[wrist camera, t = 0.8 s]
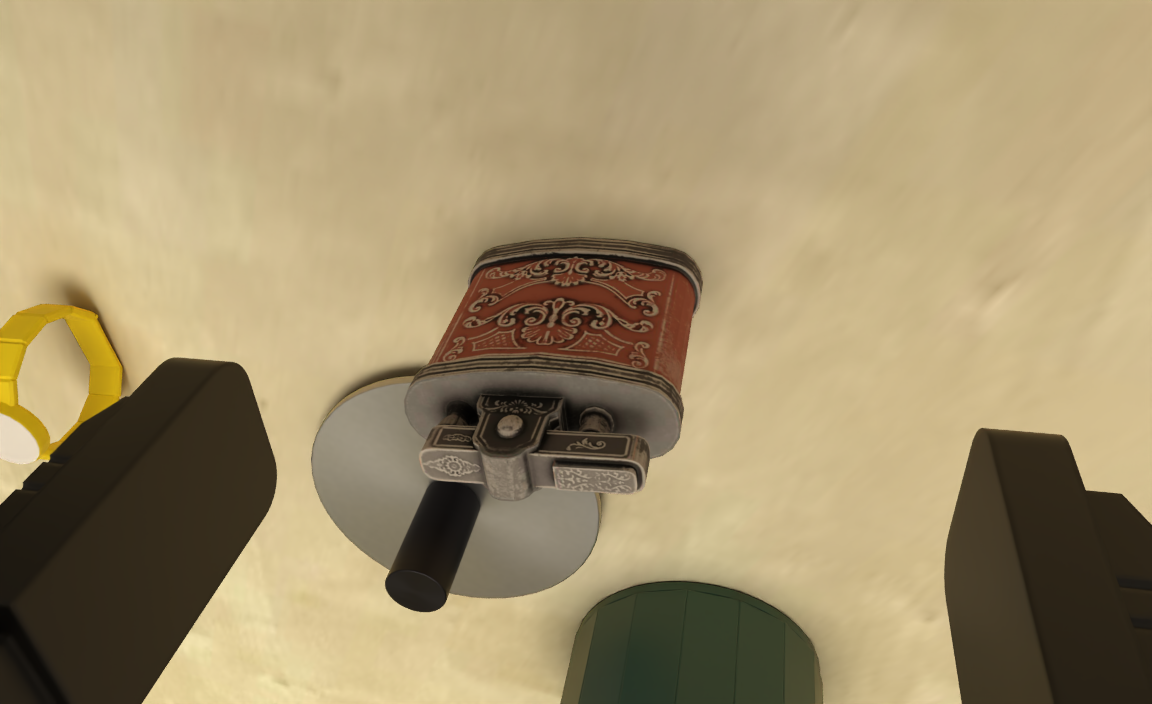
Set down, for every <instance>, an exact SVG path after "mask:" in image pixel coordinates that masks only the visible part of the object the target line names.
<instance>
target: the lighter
mask: <svg viewBox="0 0 1152 704" xmlns="http://www.w3.org/2000/svg"><path fill="white" fill-rule="evenodd" d="M702 284H703V281H702V276H701V271H700V270H699V268H698V266H697V265H696V263H695V261H694V260H693V259H691V258H690V257H689V256H688V255H687V254H686V253H683V252H681V251H678V250H675V249H671V248H666V247H660V246H654V245H648V244H643V243H637V242H631V241H621V240H607V239H592V238H569V239H552V240H535V241H529V242H524V243H518V244H512V245H506V246H501V247H495V248H492V249H490V250H487V251H485V252H484V253H483V254H482V255H481V256H480V257H479V258H478V260H477V262H476V264H475V266H474V268H473V269H472V271H471V274H470V277H469V280H468V290H467V292H466V294H465V296H464V298H463V300H462V302H461V304H460V305H459V307H458V309H457V311H456V313H455V315H454V317H453V319H452V321H451V322H450V324H449V326H448V328H447V330H446V332H445V334H444V336H443V338H442V339H441V341H440V343H439V345H438V347H437V349H436V351H435V353H434V355H433V356H432V358H431V360H430V362H429V364H428V365H427V366H424V367H423V368H422V369H421V370H420V371H419V372H418V373H417V374H416V375H415V377H414V379H413V381H412V382H411V384H410V386H409V388H408V390H407V393H406V396H405V399H404V409H405V414H406V416H407V418H408V421H409V423H410V425H411V426H412V427H413V428H414V430H415V431H416V432H417V433H418V434H419V435H420V436H421V437H423V438H424V439H426V442H425V444H424V446H423V448H422V450H421V452H420V454H419V461H420V465H421V468H422V470H423V472H424V473H425V474H426V475H427V476H428V477H429V478H431V479H434V480H439V481H449V482H465V483H480V484H482V485H483V486H484V487H486V488H487V489H488V491H489V494H490V495H491V496H492V497H493V498H495V499H497V500H500V501H519V500H523V499H525V498H527V497H529V496H530V495H531V494H532V493H533V492H535V491H538V490H540V489H542V488H556V490H566V491H582V492H597V493H613V494H633V493H636V492H639V491H642V489H643V488H644V487H645V483H646V477H647V472H648V466H649V461H650V459H652V458H656V457H660V456H663V455H664V454H666V453H667V452H669V451H670V450H671V449H673V447H674V446H675V444H676V443H677V441H678V440H679V438H680V432H681V425H682V419H683V412H684V407H683V402H682V398H681V395H680V391H681V385H682V379H683V372H684V366H685V359H686V353H687V347H688V340H689V334H690V328H691V321H692V318H693V317H694V315H695V314H696V312H697V310H698V308H699V304H700V298H701V291H702Z"/></svg>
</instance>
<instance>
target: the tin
mask: <svg viewBox="0 0 1152 704" xmlns="http://www.w3.org/2000/svg"><path fill="white" fill-rule="evenodd" d="M560 704H823V684H822V679H821V676H820V667H819V661H818V657H817V655H816V652H815V649H814V647H813V646H812V644H811V642H810V641H809V639H808V637H807V636H806V635H805V634H804V633H803V632H802V630H801V629H800V628H799V627H798V626H797V625H796V624H795V623H794V622H792V621H791V620H790V619H789V618H788V617H786V616H785V615H784V614H782V613H781V612H779V611H778V610H777V609H775V608H773V607H771V606H769V605H768V604H766V603H764V602H762V601H760V600H758V599H755V598H753V597H751V596H749V595H746V594H743V593H740V592H737V591H734V590H731V589H727V588H722V587H718V586H714V585H708V584H701V583H691V582H661V583H652V584H645V585H641V586H636V587H632V588H629V589H626V590H623V591H620V592H618V593H616V594H614V595H612V596H610V597H608V598H606V599H605V600H603V601H602V602H600V603H599V604H597V605H596V606H595V607H594V608H593V609H592V610H591V611H590V612H589V613H588V614H587V616H586V617H585V618H584V620H583V621H582V623H581V626H580V628H579V630H578V632H577V634H576V637H575V641H574V646H573V650H572V655H571V659H570V663H569V668H568V672H567V677H566V681H565V686H564V690H563V694H562V699H561V703H560Z"/></svg>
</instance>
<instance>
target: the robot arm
mask: <svg viewBox="0 0 1152 704" xmlns="http://www.w3.org/2000/svg"><path fill="white" fill-rule="evenodd" d="M276 481H277V469H276V462H275V458H274V455H273V452H272V449H271V446H270V442H269V439H268V436H267V433H266V430H265V427H264V424H263V421H262V418H261V414H260V411H259V408H258V405H257V402H256V399H255V396H254V393H253V390H252V386H251V383H250V380H249V378H248V375H247V373H246V372H245V370H244V369H243V368H242V367H241V366H240V365H239V364H237V363H234V362H225V361H213V360H201V359H189V358H170V359H168V360H166V361H164V362H163V363H162V364H161V365H159V366H158V368H157V369H156V370H155V371H154V372H153V373H152V374H151V375H150V376H149V377H148V378H147V379H146V380H145V381H144V382H143V383H142V384H141V385H140V386H139V387H138V388H137V389H136V390H135V391H134V392H133V393H132V394H131V395H130V397H127V396H125V397H124V398H122V399H120V400H119V401H117V402H116V403H114V404H112V405H111V406H109V407H107V408H106V409H104V410H102V411H101V412H99V413H98V414H96V415H94V416H93V417H91V418H89V419H88V420H86V421H84V422H83V423H81V424H80V425H79V426H78V427H77V428H76V429H75V430H74V431H73V432H72V433H71V434H70V435H69V437H68V438H67V439H66V440H65V441H64V442H63V443H62V444H61V445H60V446H59V447H58V448H57V449H56V450H55V451H54V452H53V453H52V454H51V455H50V460H49V462H43V463H42V464H41V465H40V466H39V467H38V468H37V469H36V470H35V471H34V472H33V473H32V474H31V475H30V476H29V477H28V478H27V479H26V480H25V481H24V482H23V488H22V489H21V490H17V489H16V490H15V491H14V492H13V493H12V494H11V495H10V496H9V497H8V498H7V499H6V500H5V501H4V502H3V503H2V504H1V505H0V704H142V702H143V701H144V699H145V698H146V696H147V695H148V693H149V692H150V690H151V689H152V687H153V686H154V684H155V683H156V681H157V680H158V678H159V677H160V675H161V673H162V672H163V670H164V669H165V667H166V666H167V664H168V663H169V661H170V660H171V658H172V657H173V655H174V654H175V652H176V651H177V649H178V648H179V646H180V645H181V643H182V642H183V640H184V639H185V637H186V636H187V634H188V633H189V631H190V630H191V628H192V626H193V625H194V623H195V622H196V620H197V619H198V617H199V616H200V614H201V613H202V611H203V610H204V608H205V607H206V605H207V604H208V602H209V601H210V599H211V598H212V596H213V595H214V593H215V592H216V590H217V589H218V587H219V586H220V584H221V582H222V581H223V579H224V578H225V576H226V575H227V573H228V572H229V570H230V569H231V567H232V566H233V564H234V563H235V561H236V560H237V558H238V557H239V555H240V554H241V552H242V551H243V549H244V548H245V546H246V545H247V543H248V542H249V540H250V539H251V537H252V535H253V534H254V532H255V531H256V529H257V528H258V526H259V525H260V523H261V522H262V520H263V519H264V517H265V516H266V514H267V512H268V511H269V508H270V506H271V504H272V501H273V498H274V494H275V489H276ZM944 580H945V595H946V603H947V609H948V616H949V622H950V629H951V635H952V642H953V648H954V655H955V661H956V668H957V674H958V681H959V687H960V694H961V700H962V704H1152V525H1151V524H1150V523H1149V522H1148V521H1147V520H1146V519H1145V517H1144V516H1143V515H1142V514H1141V513H1140V512H1139V511H1138V510H1137V509H1136V508H1135V507H1134V506H1133V505H1132V504H1131V503H1130V502H1129V501H1128V500H1127V499H1126V498H1125V497H1124V496H1123V495H1122V494H1118V493H1107V492H1097V491H1086V490H1085V487H1084V484H1083V481H1082V479H1081V476H1080V473H1079V470H1078V467H1077V464H1076V462H1075V459H1074V456H1073V453H1072V450H1071V447H1070V445H1069V443H1068V441H1067V439H1066V438H1065V437H1064V436H1062V435H1057V434H1045V433H1033V432H1021V431H1010V430H998V429H986V428H981V429H979V430H978V431H977V433H976V435H975V437H974V439H973V442H972V446H971V449H970V453H969V457H968V461H967V465H966V469H965V472H964V476H963V480H962V484H961V488H960V492H959V495H958V499H957V503H956V507H955V511H954V515H953V518H952V522H951V526H950V530H949V534H948V539H947V545H946V553H945V569H944Z"/></svg>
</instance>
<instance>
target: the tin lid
mask: <svg viewBox="0 0 1152 704" xmlns="http://www.w3.org/2000/svg"><path fill="white" fill-rule="evenodd" d="M414 377H415V376H405V377H395V378H391V379H386V380H382V381H378V382H375V383H373V384H370V385H367V386H365V387H362V388H360V389H358V390H357V391H355V392H353V393H351V394H350V395H348V396H347V397H345V398H344V399H343V400H342V401H340V402H339V403H338V404H337V405H336V406H335V407H334V408H333V409H332V411H331V412H330V413H329V414H328V415H327V417H326V418H325V420H324V422H323V423H322V425H321V427H320V429H319V431H318V432H317V435H316V438H315V441H314V444H313V449H312V457H311V463H312V475H313V479H314V484H315V488H316V490H317V493H318V495H319V498H320V500H321V502H322V504H323V506H324V508H325V509H326V511H327V513H328V515H329V516H330V517H331V519H332V520H333V521H334V523H335V524H336V526H337V527H338V528H339V529H340V530H341V531H342V532H343V534H344V535H345V536H346V537H347V538H348V539H349V540H350V541H351V542H352V543H353V544H355V545H356V546H357V547H358V548H359V549H360V550H361V551H363V552H364V553H365V554H367V555H368V556H369V557H371V558H372V559H373V560H375V561H376V562H378V563H379V564H381V565H382V566H384V567H386V568H387V569H389V570H390V571H389V573H388V576H387V578H386V581H385V587H386V590H387V592H388V594H389V595H390V597H391V598H392V599H393V600H394V601H396V602H397V603H398V604H400V605H401V606H403V607H405V608H408V609H410V610H414V611H418V612H432V611H436V610H438V609H440V608H441V607H442V606H443V605H444V604H445V602H446V600H447V597H448V595H449V593H451V594H455V595H462V596H468V597H477V598H510V597H518V596H524V595H528V594H533V593H537V592H540V591H542V590H545V589H548V588H551V587H553V586H554V585H556V584H558V583H560V582H562V581H564V580H565V579H567V578H568V577H569V576H571V575H572V574H574V573H575V572H576V571H577V570H578V569H579V568H580V567H581V566H582V565H583V564H584V562H585V561H586V559H587V558H588V556H589V555H590V554H591V552H592V550H593V547H594V545H595V543H596V541H597V536H598V532H599V527H600V523H601V502H600V495H599V493H597V492H582V491H566V490H556V488H542V489H540V490H538V491H535V492H533V493H532V494H531V495H530V496H529V497H527V498H525V499H523V500H519V501H500V500H497V499H495V498H493V497H492V496H491V495H490V494H489V491H488V489H487V488H486V487H484V486H483V485H482V484H480V483H465V482H449V481H439V480H434V479H431V478H429V477H428V476H427V475H426V474H425V473H424V472H423V470H422V468H421V465H420V461H419V454H420V452H421V450H422V448H423V446H424V444H425V442H426V439H424V438H423V437H421V436H420V435H419V434H418V433H417V432H416V431H415V430H414V428H413V427H412V426H411V425H410V423H409V421H408V418H407V416H406V414H405V409H404V399H405V396H406V393H407V390H408V388H409V386H410V384H411V382H412V381H413V379H414Z"/></svg>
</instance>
